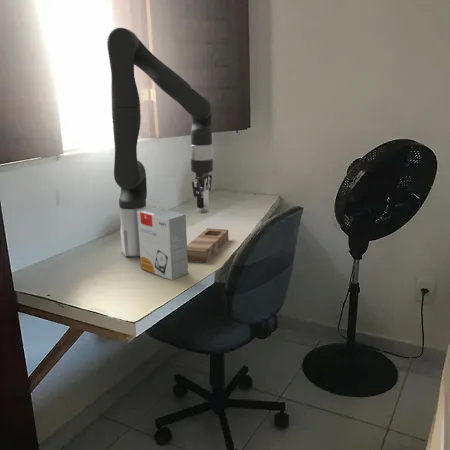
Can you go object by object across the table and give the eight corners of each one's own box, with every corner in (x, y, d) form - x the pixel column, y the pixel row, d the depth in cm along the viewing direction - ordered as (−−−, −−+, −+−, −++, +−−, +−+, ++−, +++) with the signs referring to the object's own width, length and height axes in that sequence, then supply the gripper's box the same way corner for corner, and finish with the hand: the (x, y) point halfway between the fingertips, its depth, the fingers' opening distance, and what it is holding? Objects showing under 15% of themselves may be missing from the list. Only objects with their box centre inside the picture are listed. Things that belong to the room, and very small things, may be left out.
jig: (205, 262, 172) (205, 251, 171) (182, 260, 174) (182, 249, 173) (228, 239, 194) (228, 229, 193) (207, 238, 197) (207, 228, 196)
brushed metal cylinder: (199, 213, 176) (198, 191, 174) (195, 211, 179) (195, 188, 177) (210, 212, 177) (209, 190, 175) (206, 210, 181) (206, 187, 178)
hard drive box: (140, 269, 168) (135, 210, 162) (157, 262, 173) (154, 205, 167) (171, 281, 157) (167, 219, 152) (189, 273, 163) (186, 213, 157)
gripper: (204, 161, 165) (205, 212, 170) (219, 154, 178) (219, 202, 183) (183, 160, 167) (185, 210, 172) (198, 153, 180) (200, 200, 185)
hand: (202, 206), depth 178 cm, fingers closed on brushed metal cylinder, 4 cm apart
